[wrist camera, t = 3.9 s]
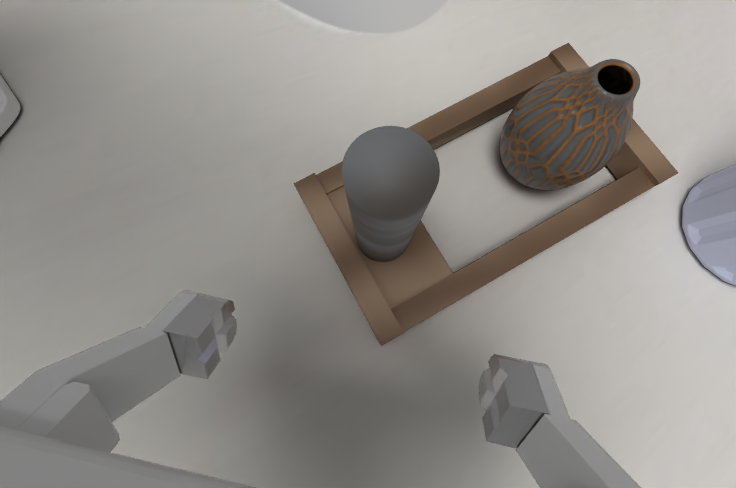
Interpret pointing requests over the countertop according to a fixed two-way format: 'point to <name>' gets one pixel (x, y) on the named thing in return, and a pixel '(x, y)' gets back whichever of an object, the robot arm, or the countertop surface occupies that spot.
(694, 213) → the soap bottle
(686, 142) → the countertop surface
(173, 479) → the robot arm
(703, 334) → the countertop surface
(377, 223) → the strip frame
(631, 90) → the vase
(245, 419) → the countertop surface
